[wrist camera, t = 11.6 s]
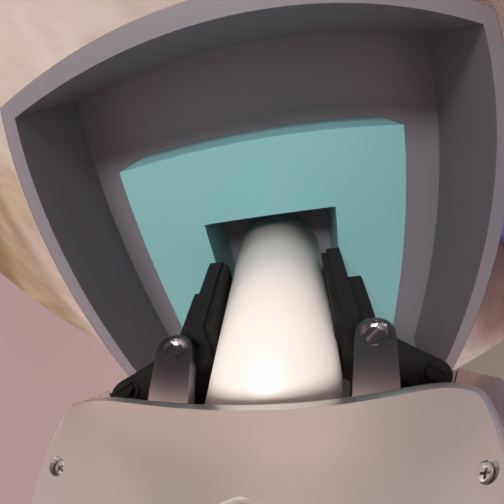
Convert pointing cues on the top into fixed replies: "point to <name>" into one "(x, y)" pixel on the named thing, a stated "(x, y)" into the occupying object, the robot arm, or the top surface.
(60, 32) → the top surface
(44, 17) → the top surface
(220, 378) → the plug
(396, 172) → the storage box
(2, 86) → the top surface
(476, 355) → the top surface
